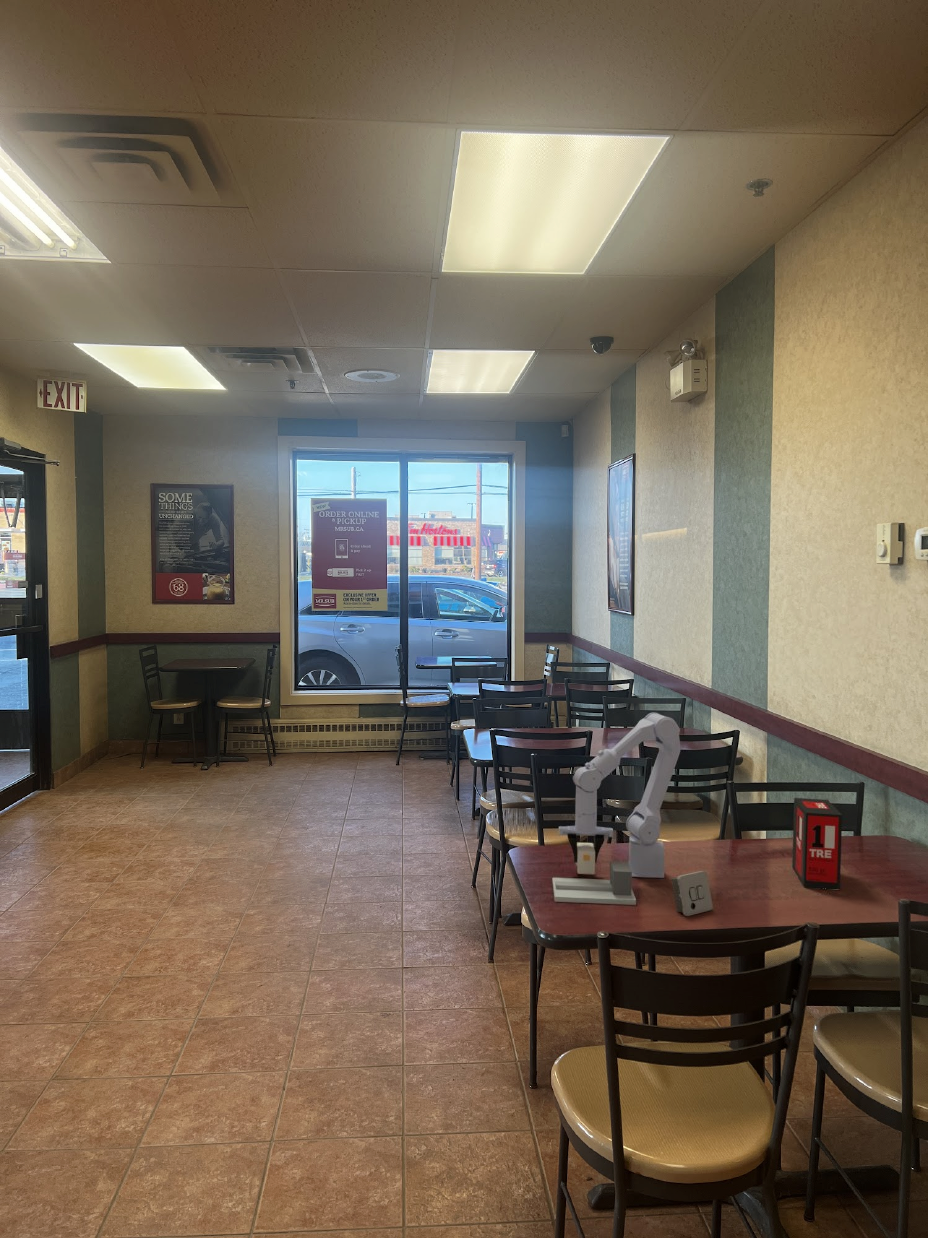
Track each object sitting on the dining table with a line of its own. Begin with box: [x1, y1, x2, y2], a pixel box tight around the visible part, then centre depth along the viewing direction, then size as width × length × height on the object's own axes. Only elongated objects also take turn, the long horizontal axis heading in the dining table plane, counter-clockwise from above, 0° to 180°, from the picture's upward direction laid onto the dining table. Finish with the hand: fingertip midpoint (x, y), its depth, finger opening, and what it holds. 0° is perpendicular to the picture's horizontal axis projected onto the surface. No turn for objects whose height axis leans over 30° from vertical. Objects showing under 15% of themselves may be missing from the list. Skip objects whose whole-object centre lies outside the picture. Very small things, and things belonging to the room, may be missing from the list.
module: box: [575, 842, 596, 875], centre depth 223 cm, size 4×9×6 cm, turn 176°
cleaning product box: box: [791, 797, 843, 890], centre depth 225 cm, size 16×9×20 cm, turn 168°
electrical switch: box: [671, 870, 714, 917], centre depth 201 cm, size 9×5×9 cm, turn 121°
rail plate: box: [551, 860, 637, 906], centre depth 211 cm, size 20×14×7 cm
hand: (585, 861), depth 224 cm, fingers closed on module, 4 cm apart
